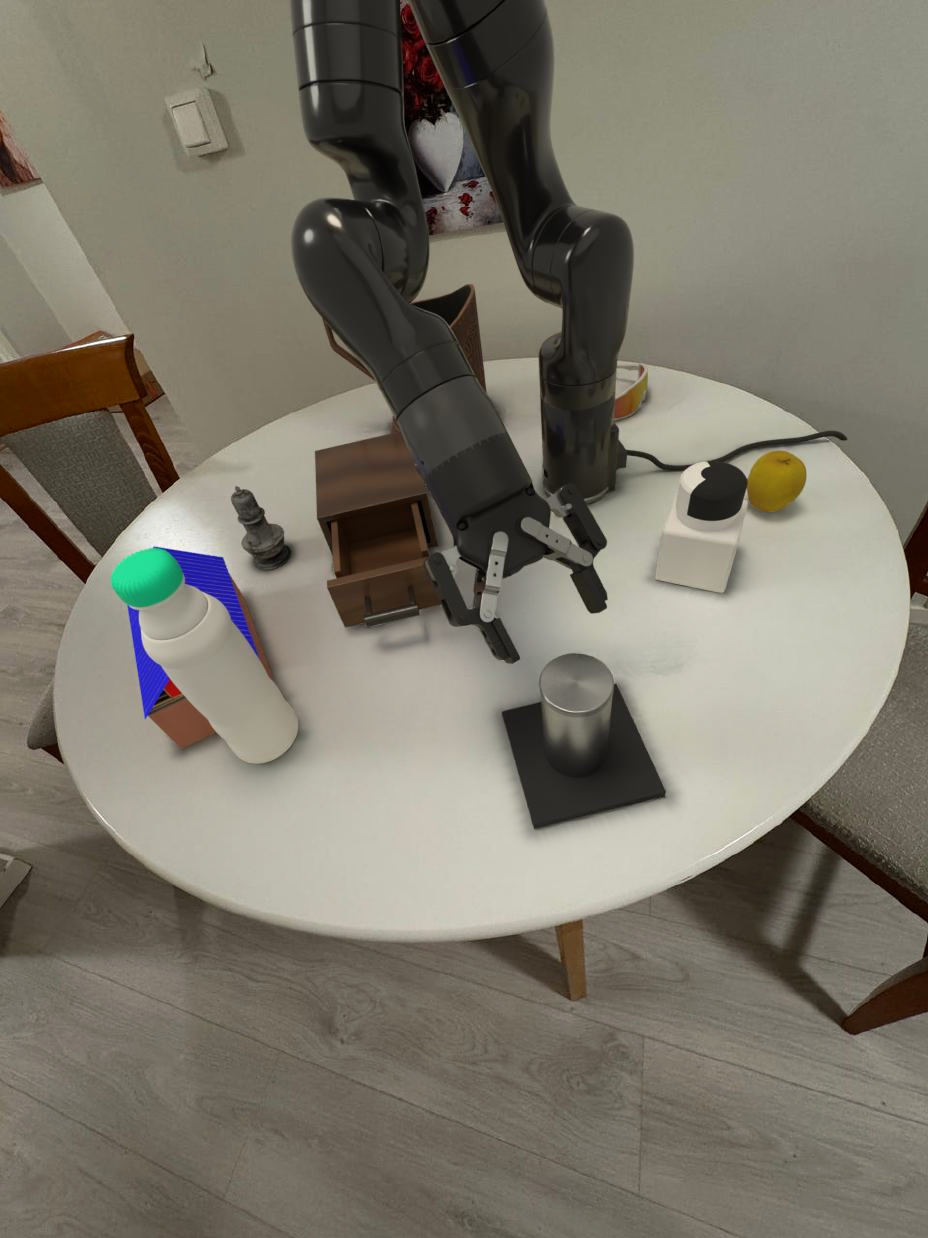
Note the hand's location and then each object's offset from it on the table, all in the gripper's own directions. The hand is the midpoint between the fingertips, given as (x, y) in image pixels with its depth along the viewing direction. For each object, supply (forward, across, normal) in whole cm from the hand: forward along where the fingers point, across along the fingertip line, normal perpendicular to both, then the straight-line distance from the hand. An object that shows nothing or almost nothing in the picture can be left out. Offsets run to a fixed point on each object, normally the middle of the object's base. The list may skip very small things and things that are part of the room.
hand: (557, 635), depth 47 cm
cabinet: (-19, 0, +39) cm, 44 cm away
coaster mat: (+12, 0, +8) cm, 15 cm away
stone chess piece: (-22, -16, +42) cm, 50 cm away
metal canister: (+12, -1, +7) cm, 14 cm away
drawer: (-10, -5, +29) cm, 31 cm away
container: (+5, +26, +16) cm, 31 cm away
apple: (+3, +41, +18) cm, 45 cm away
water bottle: (-2, -26, +22) cm, 34 cm away
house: (-12, -28, +32) cm, 44 cm away
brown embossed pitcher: (-32, +17, +52) cm, 64 cm away
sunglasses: (-22, +43, +43) cm, 65 cm away
